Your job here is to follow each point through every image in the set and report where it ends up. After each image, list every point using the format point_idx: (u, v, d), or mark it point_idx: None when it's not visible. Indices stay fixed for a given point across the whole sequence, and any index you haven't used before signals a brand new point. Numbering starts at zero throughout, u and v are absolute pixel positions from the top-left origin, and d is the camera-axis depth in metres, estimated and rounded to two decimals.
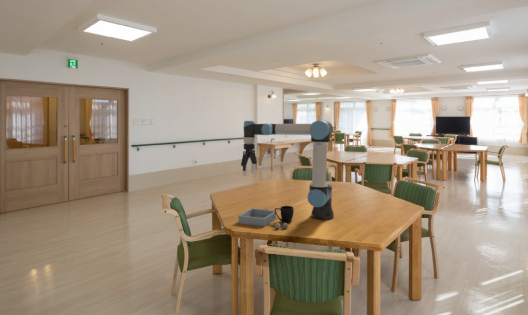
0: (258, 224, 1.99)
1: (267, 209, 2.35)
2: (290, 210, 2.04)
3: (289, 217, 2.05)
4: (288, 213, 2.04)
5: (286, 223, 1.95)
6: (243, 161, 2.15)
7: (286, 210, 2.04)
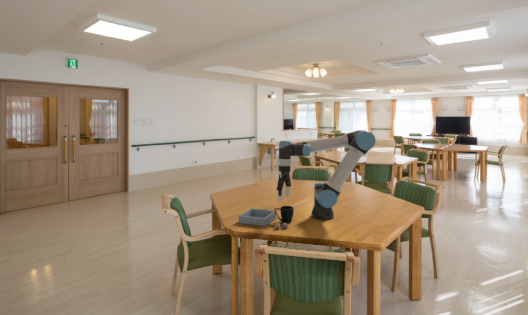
0: (258, 224, 1.99)
1: (267, 209, 2.35)
2: (290, 210, 2.04)
3: (289, 217, 2.05)
4: (288, 213, 2.04)
5: (286, 223, 1.95)
6: (279, 185, 1.98)
7: (286, 210, 2.04)
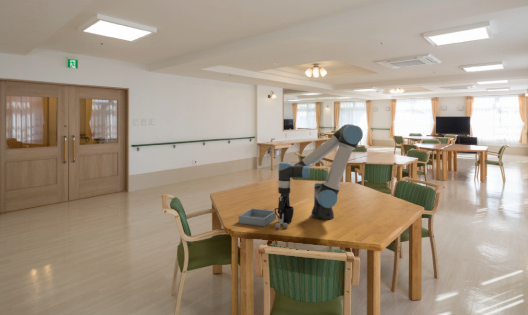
0: (258, 224, 1.99)
1: (267, 209, 2.35)
2: (290, 210, 2.04)
3: (289, 217, 2.05)
4: (288, 213, 2.04)
5: (286, 223, 1.95)
6: (280, 209, 2.00)
7: (286, 210, 2.04)
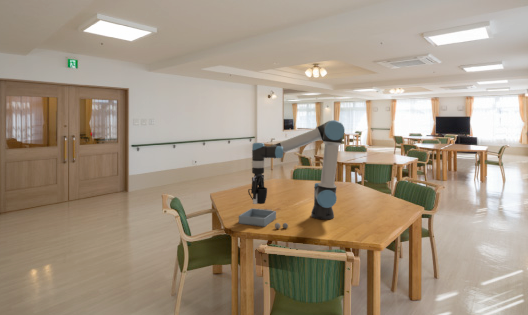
0: (258, 224, 1.99)
1: (267, 209, 2.35)
2: (263, 191, 2.04)
3: (262, 198, 2.04)
4: (261, 194, 2.04)
5: (286, 223, 1.95)
6: (253, 189, 2.01)
7: (259, 190, 2.03)
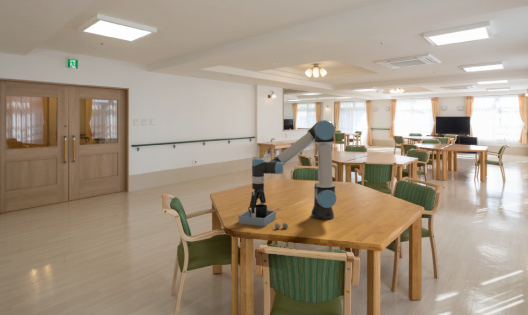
0: (258, 224, 1.99)
1: (267, 209, 2.35)
2: (263, 208, 2.05)
3: (262, 215, 2.06)
4: (261, 211, 2.05)
5: (286, 223, 1.95)
6: (252, 203, 2.00)
7: (259, 208, 2.05)
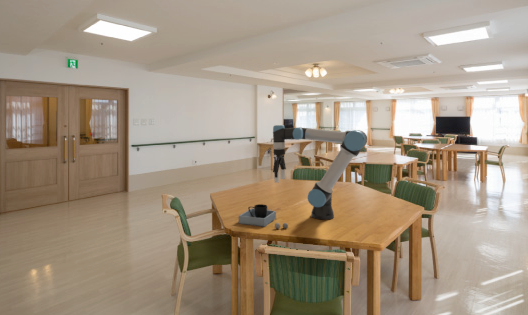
0: (258, 224, 1.99)
1: (267, 209, 2.35)
2: (263, 208, 2.05)
3: (262, 215, 2.06)
4: (261, 211, 2.05)
5: (286, 223, 1.95)
6: (275, 167, 2.07)
7: (259, 208, 2.05)
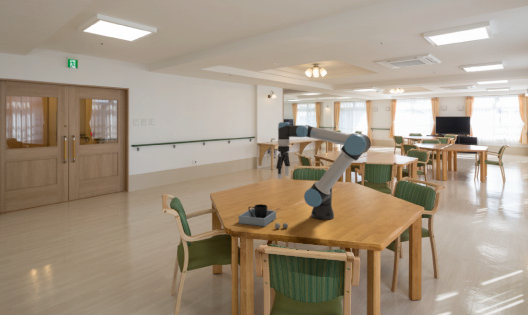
0: (258, 224, 1.99)
1: (267, 209, 2.35)
2: (263, 208, 2.05)
3: (262, 215, 2.06)
4: (261, 211, 2.05)
5: (286, 223, 1.95)
6: (279, 164, 2.09)
7: (259, 208, 2.05)
